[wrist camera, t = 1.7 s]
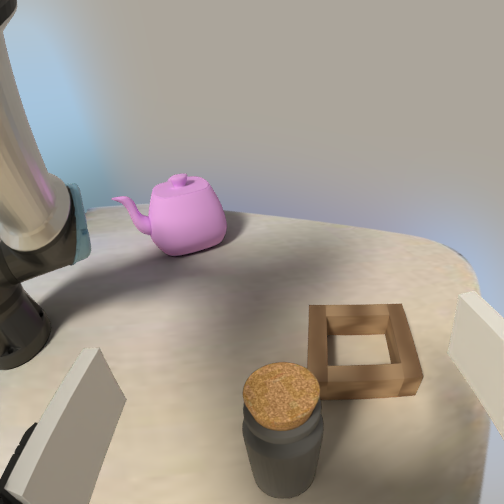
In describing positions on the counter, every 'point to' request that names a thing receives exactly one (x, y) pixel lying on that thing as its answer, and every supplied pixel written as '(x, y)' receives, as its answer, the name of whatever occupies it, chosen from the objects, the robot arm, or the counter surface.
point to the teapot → (181, 215)
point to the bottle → (282, 427)
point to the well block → (363, 376)
